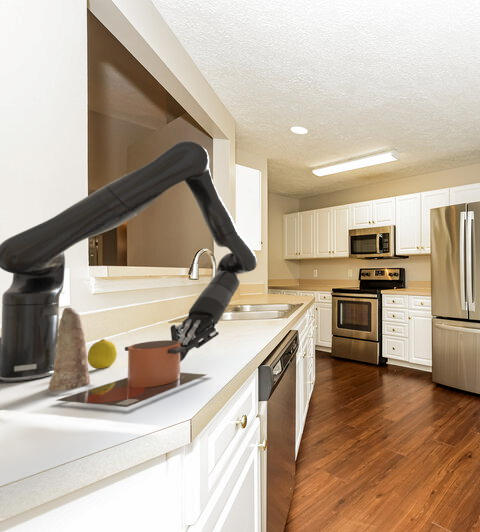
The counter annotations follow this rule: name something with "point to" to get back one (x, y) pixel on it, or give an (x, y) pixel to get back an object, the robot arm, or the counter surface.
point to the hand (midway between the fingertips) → (174, 361)
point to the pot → (153, 363)
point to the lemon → (102, 354)
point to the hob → (125, 392)
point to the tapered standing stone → (70, 354)
